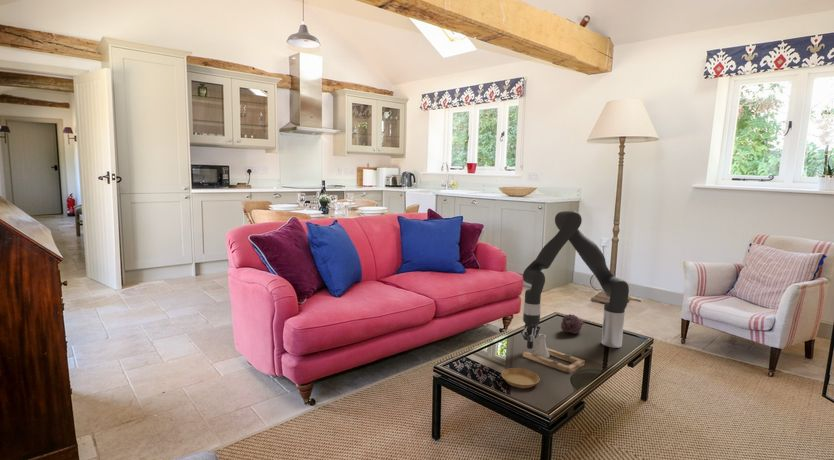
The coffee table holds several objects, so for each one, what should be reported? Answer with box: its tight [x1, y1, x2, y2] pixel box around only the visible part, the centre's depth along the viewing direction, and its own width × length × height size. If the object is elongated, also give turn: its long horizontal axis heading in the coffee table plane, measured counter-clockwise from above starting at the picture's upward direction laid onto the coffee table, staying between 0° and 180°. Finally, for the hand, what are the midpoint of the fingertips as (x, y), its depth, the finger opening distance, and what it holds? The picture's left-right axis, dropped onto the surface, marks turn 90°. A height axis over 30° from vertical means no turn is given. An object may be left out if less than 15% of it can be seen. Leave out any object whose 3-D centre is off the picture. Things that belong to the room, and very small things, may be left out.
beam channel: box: [522, 347, 586, 374], centre depth 198 cm, size 13×23×2 cm, turn 44°
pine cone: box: [560, 314, 586, 335], centre depth 233 cm, size 18×10×10 cm, turn 128°
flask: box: [532, 333, 551, 359], centre depth 202 cm, size 7×7×10 cm
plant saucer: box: [501, 367, 540, 389], centre depth 177 cm, size 15×15×3 cm
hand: (529, 348), depth 207 cm, fingers closed
